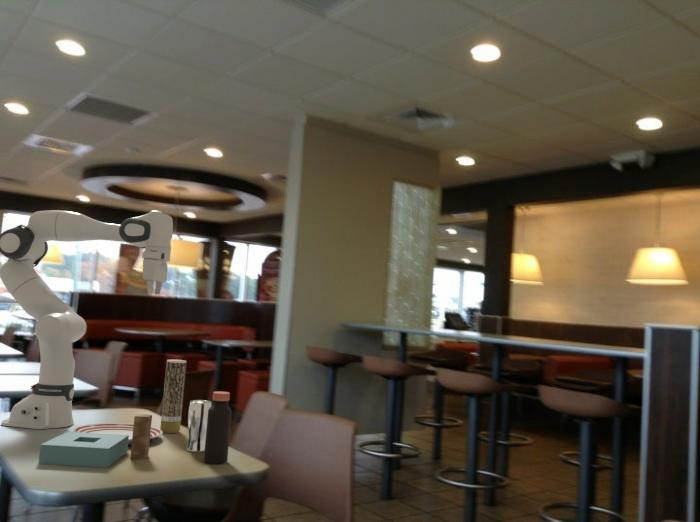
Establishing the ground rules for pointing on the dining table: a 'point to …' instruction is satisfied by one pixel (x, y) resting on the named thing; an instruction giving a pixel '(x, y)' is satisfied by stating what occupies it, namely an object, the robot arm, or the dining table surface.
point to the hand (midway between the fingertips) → (153, 294)
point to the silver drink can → (197, 425)
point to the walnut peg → (141, 436)
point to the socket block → (83, 449)
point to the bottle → (218, 429)
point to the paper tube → (173, 396)
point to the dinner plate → (115, 430)
